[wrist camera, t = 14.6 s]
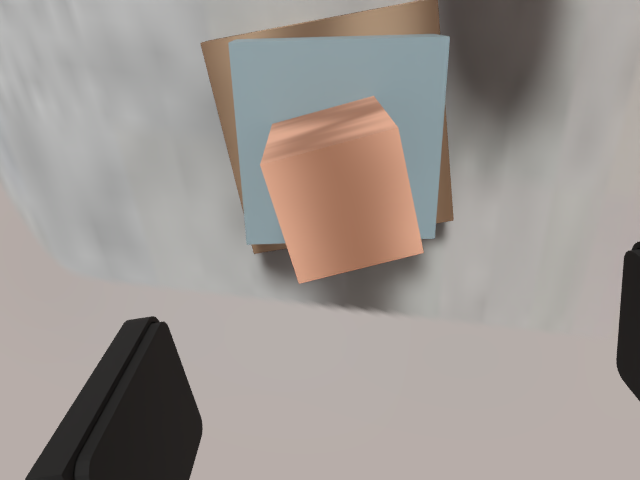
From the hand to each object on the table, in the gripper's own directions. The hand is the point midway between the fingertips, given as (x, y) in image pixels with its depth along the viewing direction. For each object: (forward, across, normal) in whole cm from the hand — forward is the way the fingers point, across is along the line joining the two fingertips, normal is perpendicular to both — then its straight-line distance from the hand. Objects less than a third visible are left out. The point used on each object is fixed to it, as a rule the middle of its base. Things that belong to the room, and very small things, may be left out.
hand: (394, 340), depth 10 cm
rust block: (+16, +1, 0) cm, 16 cm away
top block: (+19, +1, 0) cm, 19 cm away
